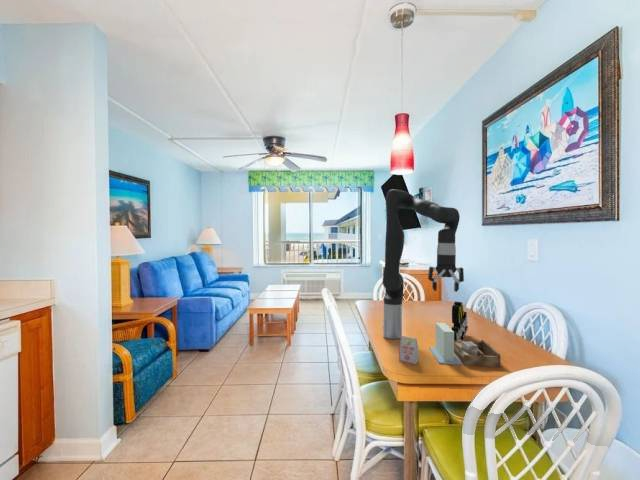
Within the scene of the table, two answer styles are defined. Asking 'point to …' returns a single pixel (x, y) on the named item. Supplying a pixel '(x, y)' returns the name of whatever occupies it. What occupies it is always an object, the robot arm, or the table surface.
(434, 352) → the mat
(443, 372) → the table surface
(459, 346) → the offcut
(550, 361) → the table surface
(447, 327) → the pale green slab
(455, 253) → the robot arm
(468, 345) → the offcut
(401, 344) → the printed grey box
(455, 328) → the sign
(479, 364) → the wooden tray
